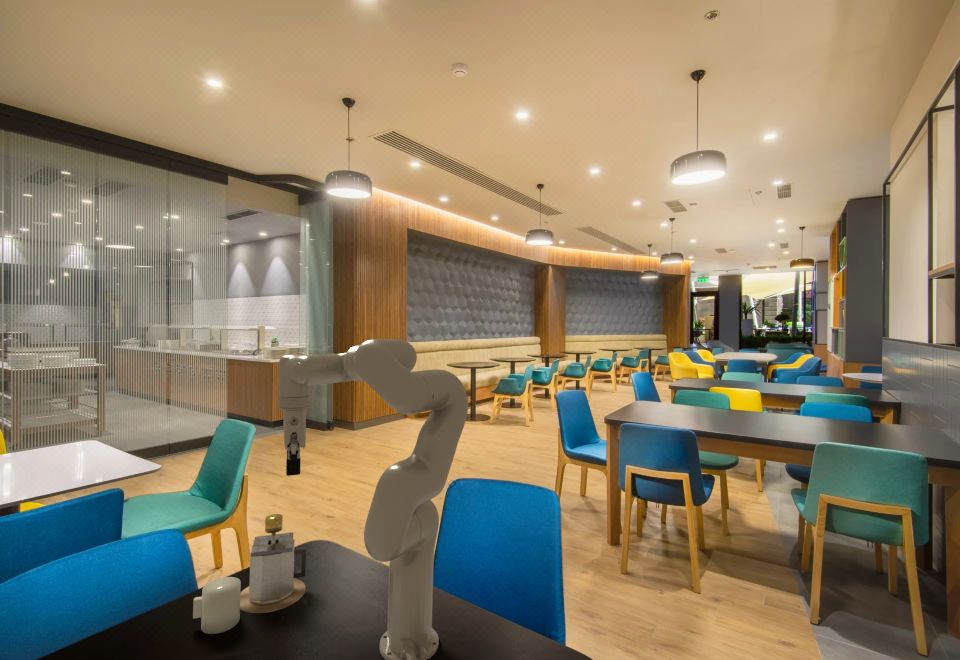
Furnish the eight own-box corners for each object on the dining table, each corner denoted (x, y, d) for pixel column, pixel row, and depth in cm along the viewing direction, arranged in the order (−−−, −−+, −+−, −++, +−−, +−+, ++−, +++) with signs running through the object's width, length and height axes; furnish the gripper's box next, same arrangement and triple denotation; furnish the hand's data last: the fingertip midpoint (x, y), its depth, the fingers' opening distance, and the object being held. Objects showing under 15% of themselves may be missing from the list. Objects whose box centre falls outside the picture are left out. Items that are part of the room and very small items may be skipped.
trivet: (305, 608, 111) (305, 605, 111) (231, 621, 106) (231, 618, 106) (305, 575, 126) (305, 572, 126) (240, 585, 121) (240, 582, 121)
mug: (237, 632, 102) (238, 591, 102) (189, 641, 99) (190, 599, 99) (241, 612, 109) (242, 574, 109) (196, 620, 106) (198, 581, 106)
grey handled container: (304, 599, 114) (306, 546, 114) (246, 609, 109) (247, 554, 110) (304, 578, 124) (306, 529, 124) (251, 586, 119) (252, 536, 119)
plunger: (287, 592, 114) (289, 521, 114) (253, 597, 111) (255, 524, 111) (288, 576, 121) (290, 509, 121) (256, 581, 118) (258, 513, 118)
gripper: (311, 406, 112) (309, 477, 111) (308, 398, 128) (307, 459, 127) (277, 408, 109) (276, 481, 108) (279, 399, 125) (278, 462, 125)
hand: (293, 469), depth 118 cm, fingers open, 9 cm apart
